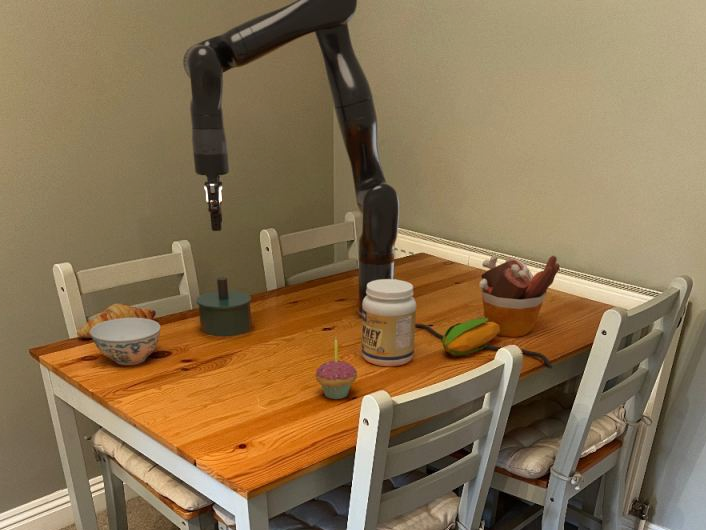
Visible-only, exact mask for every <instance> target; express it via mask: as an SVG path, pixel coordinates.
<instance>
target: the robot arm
mask: <svg viewBox="0 0 706 530" xmlns="http://www.w3.org/2000/svg"><path fill="white" fill-rule="evenodd" d="M357 6H358V0H295V1H293V2H291V3H289V4H286V5H285V6H282V7H279V8H278V9H275V10H272V11H268V12H266V13H264V14H260V15H258V16H255V17H253V18H250V19H248V20H247V21H244V22H242V23H239V24H238V25H236V26H234V27H231V28H230V29H228V30H226V31H225V32H223V33H220V34H218V35H216V36H213V37H210V38H207V39H205V40H202V41H199V42H196V43H195V44H193V45H191V46H189V47H188V48H187V49H186V50H185V52H184V54H183V57H182V58H183V59H182V67H183V71H184V72H185V74H186V76H187V77H188V78H189V79H190V90H191V91H190V92H191V99H190V103H189V112H190V122H191V123H190V124H191V142H192V154H193V163H194V172H195V174H196V175H199V176H205V177H206V181H204V184H203V186H204V193H205V199H206V200H205V201H206V204H207V206H208V208H207V210H208V213H209V215H210V216H209V217H210V224H211V225H210V226H211V231H213V232H220V231H222V223H223V214H222V204H223V190H224V189H223V187H224V186H223V181H220V178H221V177H220V176H224V175H227V174H229V172H230V167H229V157H228V156H229V155H228V154H229V153H228V142H227V136H226V131H225V121H224V119H225V118H224V109H223V90H224V89H223V86H224V73H226V72H228V71H230V70H231V69H236V68H241V67H244V66H247V65H248V64H251V63H253V62H255V61H257V60H259V59H262V58H264V57H265V56H267V55H269V54H270V53H273V52H275V51H276V50H278V49H280V48H283V47H284V46H286V45H288V44H290V43H292V42H293V41H296V40H298V39H300V38H302V37H304V36H308V35H310V34H313V33H315V36H316V37H315V38H316V39H317V42H318V46H319V48H320V52H321V54H322V58H323V59H322V60H323V62H324V67H325V68H324V69H325V73H326V77H327V81H328V85H329V89H330V94H331V97H332V104H333V107H334V113H335V116H336V120H337V124H338V127H339V130H340V135H341V138H342V142H343V144H344V147H345V151H346V154H347V156H348V160H349V162H350V168H351V174H352V179H353V187H354V193H355V200H356V205H357V207H358V209H359V211H360V212H361V214H362V230H361V235H360V236H359V238H358V301H357V315H358V316H359V317H361V318H362V303H363V300H364V298H365V297H366V296H367V294H366V290H367V284H368V283H369V282H371V281H375V280H381V279H394V280H398V279H397V278H396V277H395V255H396V254H395V253H396V241H397V238H398V234H399V233H398V232H399V218H400V198H399V195H398V192H397V190H396V189H395V188H394V187H393V186H391V185H390V184H388V181H387V180H386V177H385V174H384V171H383V167H382V163H381V160H380V156H379V155H380V154H379V126H378V125H379V124H378V116H377V115H378V114H377V110H376V106H375V102H374V96H373V93H372V89H371V86H370V83H369V81H368V78H367V76H366V73H365V71H364V70H363V67H362V65H361V64H360V62H359V59H358V56H357V55H356V53H355V50H354V47H353V44H352V40H351V34H350V29H349V25H348V24H349V21H351V20H352V19H353V17H354V15H355V13H356V10H357ZM415 328H418V329H424V330H426V331H428V332H429V333H431V334H432V335H433V336H435V337H436V338H438V339H440V340H442V339H443V336H444V334H441V333H439V332H438V331H436V330H434V329H433V328H432V327H430V326H429V325H426V324H424V323H415ZM445 338H446V337H445ZM486 345H487V344H484V345H483V346H486ZM483 346H482V347H483ZM501 347H502V346H495V345H488V346H486V347H484V348H482V349H481V350H490V351H497V350H498V349H500V348H501ZM479 348H481V347H479ZM520 349H521V350H522V352H523V355H526V356H531V357H536V358H540V359H541V360H542V361H543V362H544V364H545V365H546V366H547V368H548V369H553V368H554V367H553V366H552V363H551V361H550V360H549V359H548V358H547V356H545V355H544V354H542V353H541V352H537V351H531V350H527V349H523V348H520Z"/></svg>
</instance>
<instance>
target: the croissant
mask: <svg viewBox="0 0 706 530" xmlns="http://www.w3.org/2000/svg"><path fill="white" fill-rule="evenodd" d="M156 315H157V312H156V310H154V309H152V308H150V309H147V308H140V307H139V308H138V307H136V306H130V305H128V304H126V303H116V302H115V303H114V304H110V305H109V306H107V307H106V308H105V309H104V310H103V311H102V312H99V313H97V314H96V315H95V316H94V318H92V319H91V320H88V321H86V322H85V323H84V324H83V326H82V327H80V328H77V330H76V334H77V335H78V337H80V338H85V339H92V336H91V334H90V330H91V329H92V328H93V327H94V326H95V325H97V324H99V323H102V322H105V321H109V320H114V319H120V318H144V319H150V320H154V318H155V317H156Z"/></svg>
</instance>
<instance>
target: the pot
mask: <svg viewBox="0 0 706 530" xmlns="http://www.w3.org/2000/svg"><path fill="white" fill-rule="evenodd" d="M198 312H199V322H200V329H201V332H202V333H203V334H205V335H209V336H212V337H225V338H226V337H236V336H240V335H244V334H246V333H248V332H250V331H251V329H252V327H253V326H252V325H253V324H252V314H251V312H252V311H251V302H250V303H249V304H247V305H245V306H242V307H238V308H232V309H210V308H205V307H202V306H199V305H198Z"/></svg>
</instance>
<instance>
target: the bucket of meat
mask: <svg viewBox="0 0 706 530" xmlns="http://www.w3.org/2000/svg"><path fill="white" fill-rule="evenodd" d="M498 259H499V256H498V255H495V254H494V255H491V256H490V259H485V260H484V261H483V262H482V264H481V265H482V267H483V268H487V269H488V270H487V271H485V272H484V273H483V274H481V280H480V282H479V283H478V287H479V288H480V291H481V295H482V296H481V297H482V304H483V314H484V318H488V321H485V322H494V323H496V324H498V325H499V326H500V332H499V333H498V334H497V335H496V336H499V337H507V338H516V337H517V338H519V337H524V336H526V335H527V334H529V332H530V331H532V330H533V329H534V327H535V324H536V322H537V319H538V316H539V314H540V311H541V308H542V305H543V303H544V299H545V298H546V296H547V290H548V289H549V287H550V286H551V285H552V284H553V283H554V280H555V277H556V275H557V274H558V272H559V270H560V264H559V263H558V262H557V260H558V259H557V256H556V255H551V256H550V257H549V258H548V260H547V263H546V265H545V267H544V270H540V271H539V272H538V271H537V272H536V273H535V274H534V275H533V273H532V272H531V271H530V269H529V268H528V266H527V265H526V264H525V263H523V262H522V261H521V260H519V259H516V258H512V257H507V258H506V259H505V262H502V263H500V264H499V265H497V262H498Z"/></svg>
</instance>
